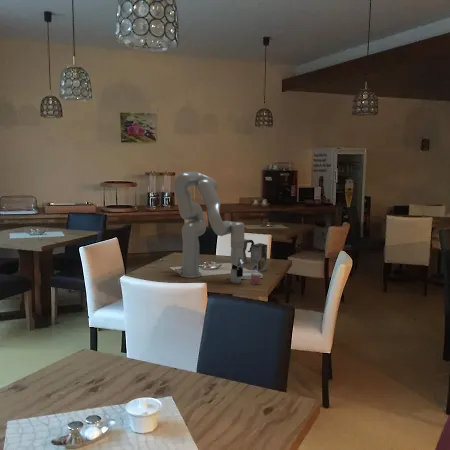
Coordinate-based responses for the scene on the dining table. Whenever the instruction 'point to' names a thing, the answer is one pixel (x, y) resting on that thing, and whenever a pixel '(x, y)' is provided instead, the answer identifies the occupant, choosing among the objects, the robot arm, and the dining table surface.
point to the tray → (249, 274)
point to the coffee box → (258, 257)
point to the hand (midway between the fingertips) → (237, 274)
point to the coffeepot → (245, 249)
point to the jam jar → (255, 277)
